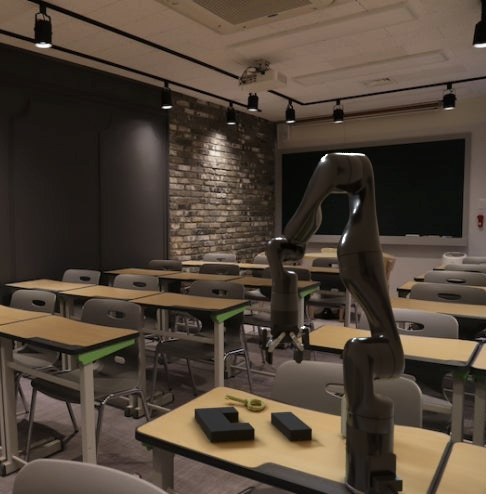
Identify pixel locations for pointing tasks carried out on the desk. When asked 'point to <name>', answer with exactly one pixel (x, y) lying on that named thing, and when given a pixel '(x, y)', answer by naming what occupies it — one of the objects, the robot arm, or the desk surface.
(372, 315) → the robot arm
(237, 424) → the base pad
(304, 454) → the desk surface
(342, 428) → the photo printer
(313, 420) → the desk surface
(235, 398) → the key
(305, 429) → the strip pad
